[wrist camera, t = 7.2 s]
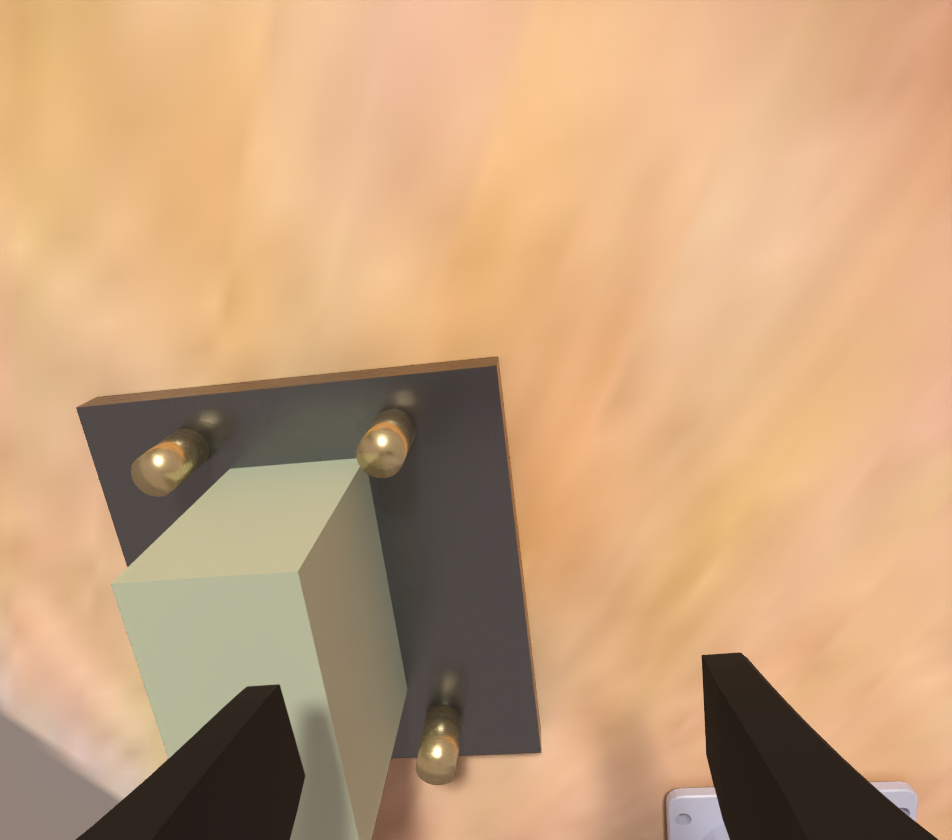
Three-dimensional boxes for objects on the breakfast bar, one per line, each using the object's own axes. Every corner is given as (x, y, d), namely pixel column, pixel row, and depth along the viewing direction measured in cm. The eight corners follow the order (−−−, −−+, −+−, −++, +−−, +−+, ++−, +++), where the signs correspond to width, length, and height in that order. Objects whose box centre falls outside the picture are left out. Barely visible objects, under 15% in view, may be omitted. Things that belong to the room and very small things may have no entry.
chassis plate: (540, 729, 23) (542, 804, 21) (204, 743, 25) (162, 816, 22) (497, 356, 19) (492, 386, 16) (97, 397, 21) (28, 432, 18)
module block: (365, 457, 19) (298, 571, 14) (407, 689, 22) (365, 866, 16) (229, 469, 20) (110, 583, 14) (286, 695, 22) (204, 869, 17)
